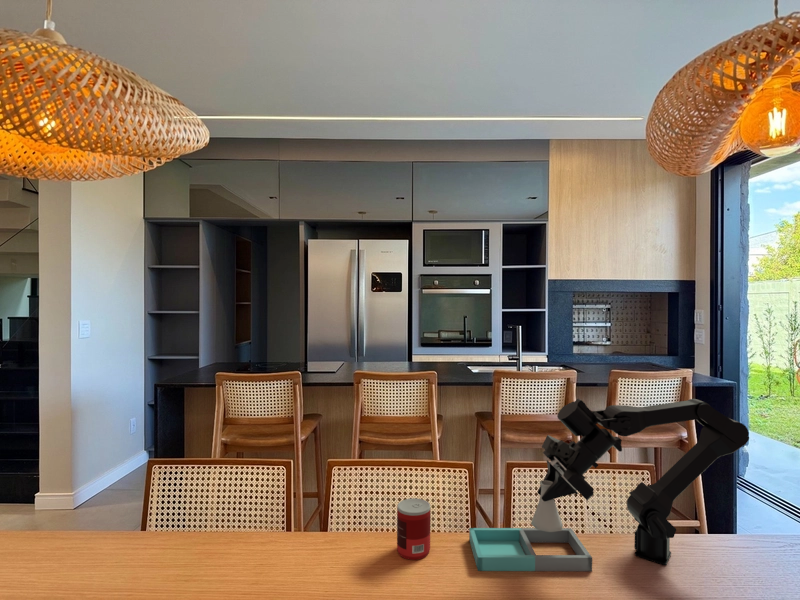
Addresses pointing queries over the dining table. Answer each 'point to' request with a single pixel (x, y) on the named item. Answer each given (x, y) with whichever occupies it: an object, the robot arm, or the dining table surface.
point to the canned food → (413, 528)
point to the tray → (525, 550)
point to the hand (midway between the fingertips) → (540, 496)
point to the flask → (546, 513)
